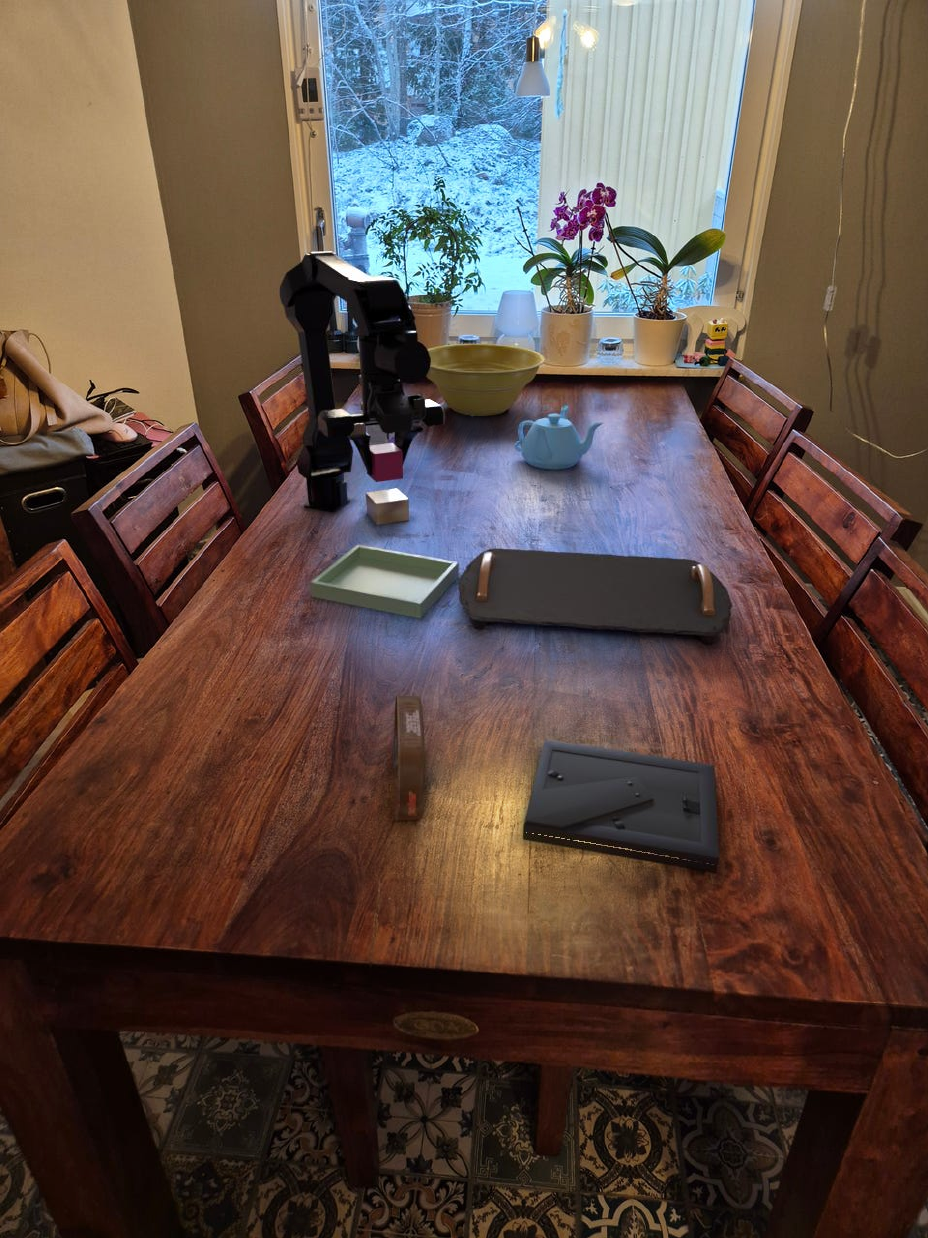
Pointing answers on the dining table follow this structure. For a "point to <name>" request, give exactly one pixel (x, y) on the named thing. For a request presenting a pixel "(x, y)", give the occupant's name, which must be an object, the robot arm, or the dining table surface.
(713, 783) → the picture frame
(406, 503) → the birch block
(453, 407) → the planter bowl
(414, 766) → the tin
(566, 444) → the teapot
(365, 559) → the green tray
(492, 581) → the serving tray
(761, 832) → the dining table surface
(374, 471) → the mulberry block
